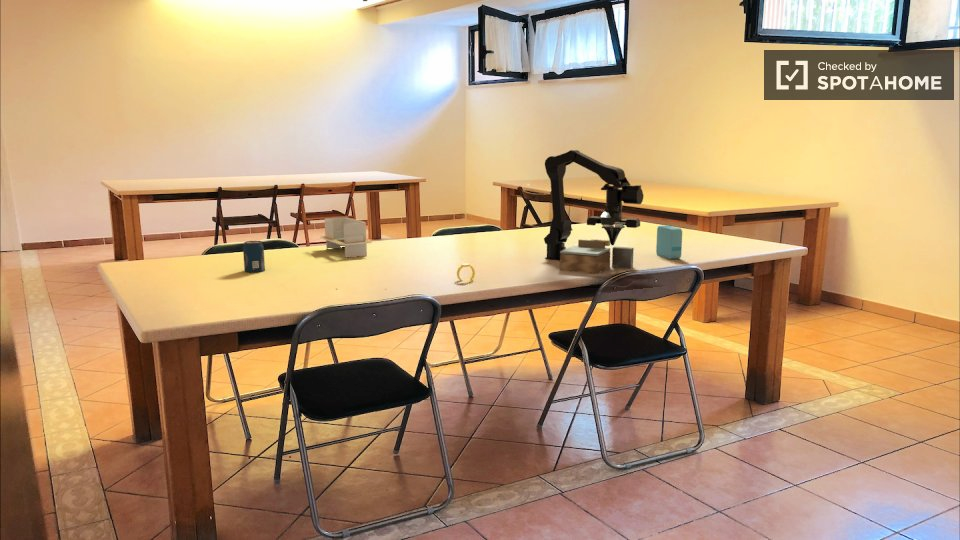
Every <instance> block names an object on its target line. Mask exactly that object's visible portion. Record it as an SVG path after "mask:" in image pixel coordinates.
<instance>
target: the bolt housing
mask: <svg viewBox="0 0 960 540" xmlns="http://www.w3.org/2000/svg"><path fill="white" fill-rule="evenodd" d="M634 250H635V247H625V246H613V247H612V250H611V251H612V252H611V253H612V254H611V255H612V256H611V259H612V260H611V267H612V268H619V269H621V268H622V269H632V268H633V267H634Z"/></svg>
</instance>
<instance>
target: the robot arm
mask: <svg viewBox="0 0 960 540" xmlns="http://www.w3.org/2000/svg"><path fill="white" fill-rule="evenodd" d="M573 163H575V164H577V165H579V166H581V167H583V168H585V169H586V170H589V171H591V172H592V173H594V174H596V175H597V176H598V177H599V178H600V179H601V180H602V182H603V181H604V182H605V183H604V185H602V187H601V188H600V190H601V191H605V193H606V194H605V195H606V196H605V206H604V211H603V212H602V213H601V215H600V216H596V215H595V216H592V215H591V216H589V217H588V218H587V219H586V225H587V226H596V225H597V224H598V225H599V224H600V225H601V228H602V229H604V231H606V233H607V236H608V238H609V239H608V240H610V246H615V244H616V241H617V238H618V237H619V235H620V233H621V231H622V230H623V229H624V228H625V227H626V228H633V229H635V228H639V227H641V220H640V218H632V217H630V218H627V219H623V216H622V209H623V203H624V204H626V205H627V204H629V205H642V203H643V202H644V192H643V189H642V185H640V184H637V185H631V183H630V182H629V180H628V178H627V177H626V173H625V171H624V169H622V168H620V167H618V166H617V167H616V166H614V165H613V166H612V165H609V164H604V163H602V162H600V161H598V160H597V159H594V158H592V157H590V156H589V155H587V154H585V153H583V152H581V151H579V150H578V149H571V150H569V151H567V152H564V153H561V154H557V155H552V156H548V157H547V158H545V161H544V167H545V168H544V169H545V172H546V174H547V176H548V178H549V181H550V190H551V191H550V192H551V206H552V218H551V222H550V226H549V233H548V234H547V235H545V236H544V238H543V241H544V244H545V245H546V256H545V257H544V259H545V260H552V261H553V260H554V261H560V254H562V253H560V251H562V250H564V249H567V247H566V246H565V243H567V241H568V239H569V237H570V236H571V234H572V231H573V228H572V220H571V219H569V220H568V219H567V216H566V207H565V206H566V205H565V191H564V190H565V189H564V178H565V174H566V172H567V171H566V170H567V166H569V165H572V164H573Z"/></svg>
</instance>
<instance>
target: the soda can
mask: <svg viewBox="0 0 960 540" xmlns="http://www.w3.org/2000/svg"><path fill="white" fill-rule="evenodd" d="M264 249H265V246H264V245H263V243H262V241H261V240H247V241H244V244H243V246H242V253H243V267H244V273H247V274H259V273H263V272H265V271H266V266H265V265H266V264H265V251H264Z"/></svg>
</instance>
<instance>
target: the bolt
mask: <svg viewBox="0 0 960 540" xmlns="http://www.w3.org/2000/svg"><path fill="white" fill-rule="evenodd" d="M590 240H596V241H605V247H610V246H611V243H610V240H609V239H601V238H600V239H599V238H591V239H590Z"/></svg>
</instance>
